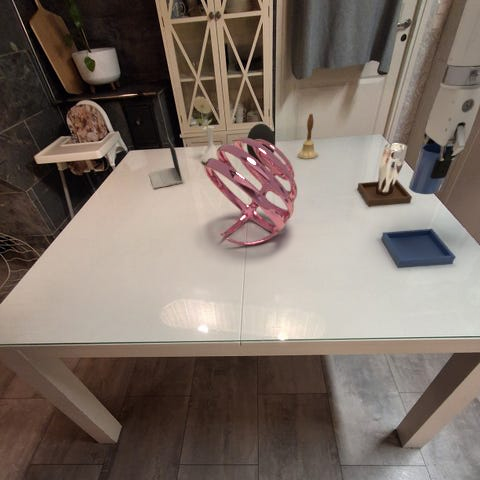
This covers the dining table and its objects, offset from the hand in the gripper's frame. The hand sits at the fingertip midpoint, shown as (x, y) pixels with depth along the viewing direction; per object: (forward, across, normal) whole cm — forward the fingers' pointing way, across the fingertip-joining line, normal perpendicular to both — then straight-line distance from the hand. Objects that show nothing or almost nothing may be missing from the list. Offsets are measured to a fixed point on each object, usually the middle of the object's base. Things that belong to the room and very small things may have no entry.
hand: (430, 170), depth 70 cm
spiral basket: (+19, +11, +42) cm, 48 cm away
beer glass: (+19, +29, -2) cm, 34 cm away
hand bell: (+20, +72, +17) cm, 77 cm away
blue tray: (+20, -4, -1) cm, 20 cm away
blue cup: (+4, 0, 0) cm, 4 cm away
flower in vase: (+19, +77, +61) cm, 100 cm away
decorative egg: (+20, +69, +38) cm, 81 cm away
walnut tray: (+20, +29, -2) cm, 35 cm away
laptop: (+19, +60, +81) cm, 103 cm away
